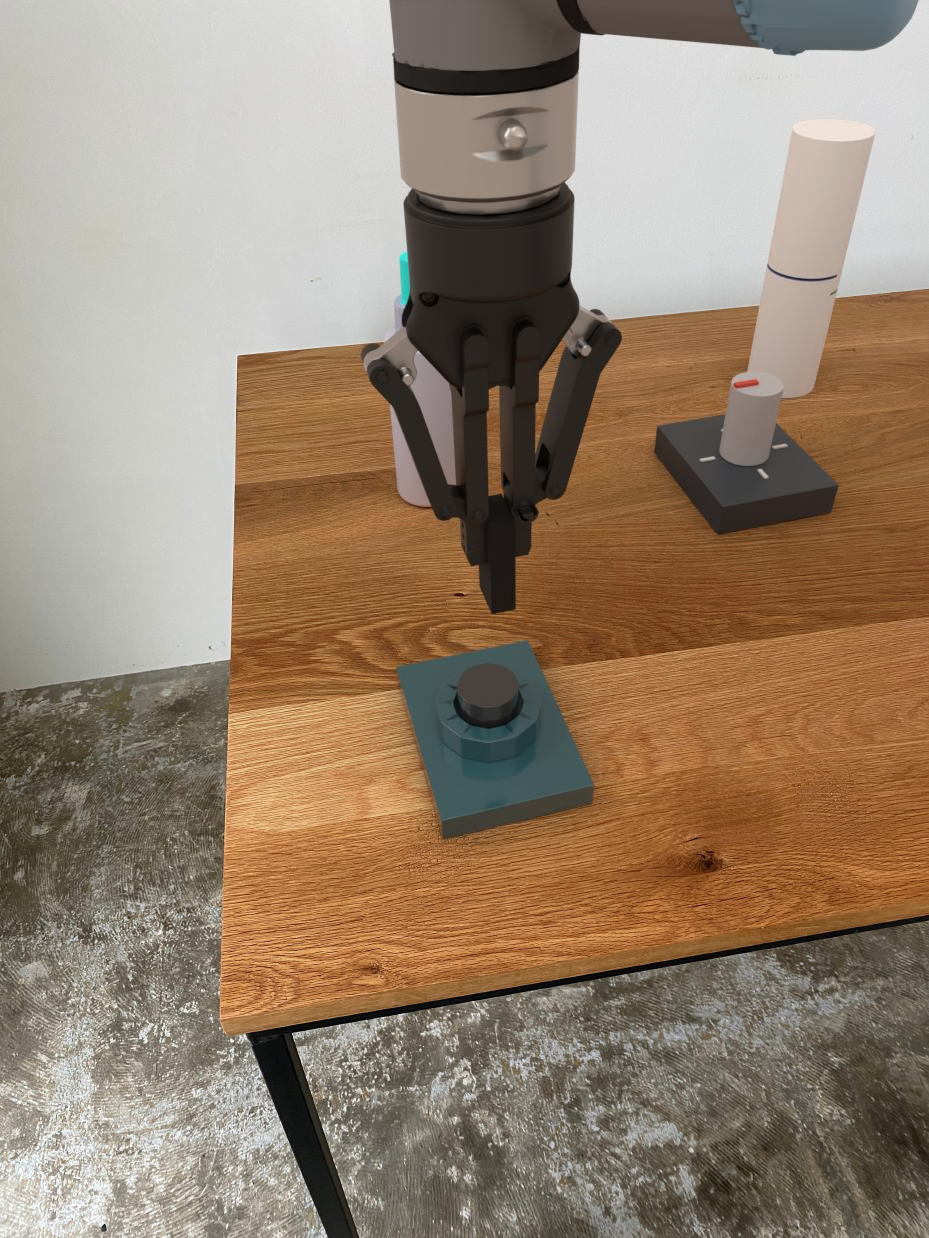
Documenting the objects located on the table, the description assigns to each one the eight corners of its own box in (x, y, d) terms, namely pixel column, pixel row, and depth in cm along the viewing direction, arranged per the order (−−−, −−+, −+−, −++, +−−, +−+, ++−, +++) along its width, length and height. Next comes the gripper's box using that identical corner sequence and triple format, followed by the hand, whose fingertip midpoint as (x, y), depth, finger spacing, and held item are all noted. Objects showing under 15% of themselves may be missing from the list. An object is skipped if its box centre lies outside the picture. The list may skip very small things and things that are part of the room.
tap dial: (754, 437, 87) (768, 365, 82) (777, 461, 84) (794, 388, 79) (710, 444, 87) (723, 372, 82) (733, 469, 83) (747, 396, 78)
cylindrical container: (732, 376, 102) (775, 126, 86) (782, 360, 105) (835, 114, 88) (776, 404, 98) (832, 146, 81) (828, 387, 100) (893, 132, 83)
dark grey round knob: (525, 721, 61) (526, 699, 60) (466, 734, 61) (466, 712, 59) (508, 679, 64) (508, 657, 63) (452, 691, 64) (450, 669, 62)
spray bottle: (468, 504, 86) (460, 266, 71) (403, 513, 85) (381, 275, 70) (455, 469, 90) (445, 238, 76) (393, 477, 90) (371, 246, 75)
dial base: (831, 513, 83) (839, 483, 81) (717, 534, 81) (723, 504, 79) (756, 434, 93) (762, 406, 91) (653, 452, 92) (657, 423, 89)
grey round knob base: (592, 804, 61) (596, 764, 58) (442, 839, 59) (439, 800, 56) (527, 658, 71) (528, 619, 68) (398, 685, 69) (393, 646, 66)
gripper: (355, 233, 37) (404, 661, 53) (663, 192, 39) (622, 615, 55) (326, 178, 42) (379, 581, 58) (598, 145, 44) (578, 541, 60)
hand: (497, 597), depth 56 cm, fingers closed
